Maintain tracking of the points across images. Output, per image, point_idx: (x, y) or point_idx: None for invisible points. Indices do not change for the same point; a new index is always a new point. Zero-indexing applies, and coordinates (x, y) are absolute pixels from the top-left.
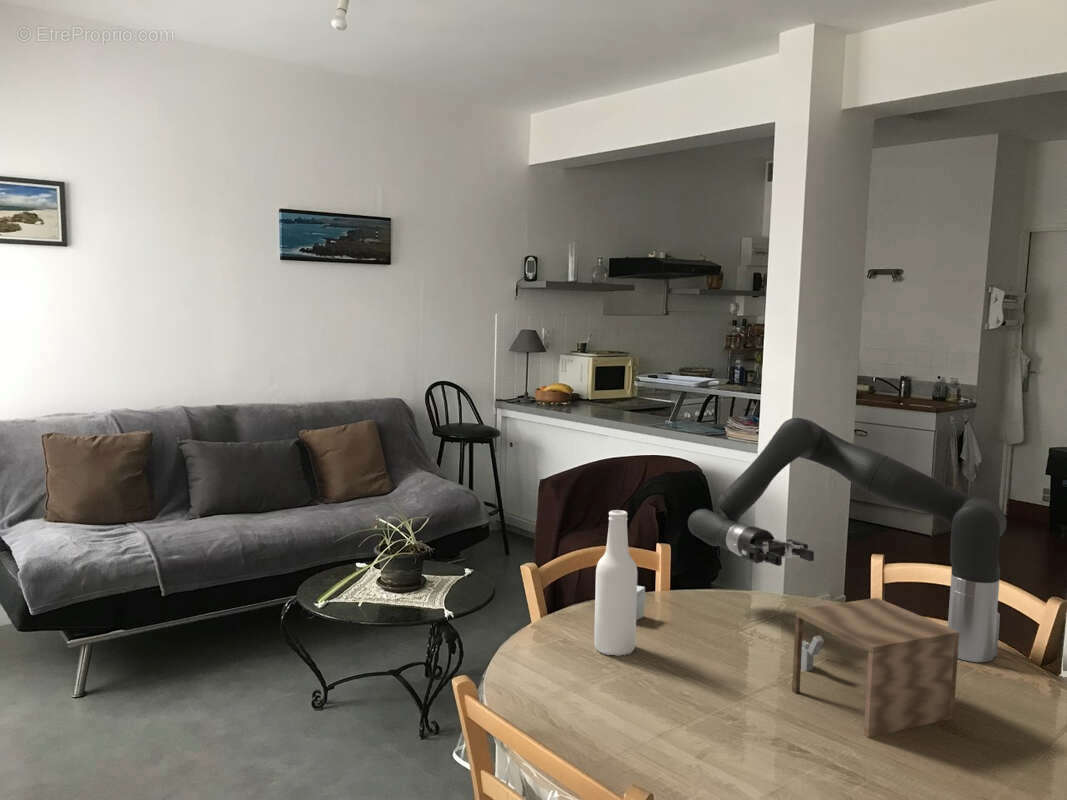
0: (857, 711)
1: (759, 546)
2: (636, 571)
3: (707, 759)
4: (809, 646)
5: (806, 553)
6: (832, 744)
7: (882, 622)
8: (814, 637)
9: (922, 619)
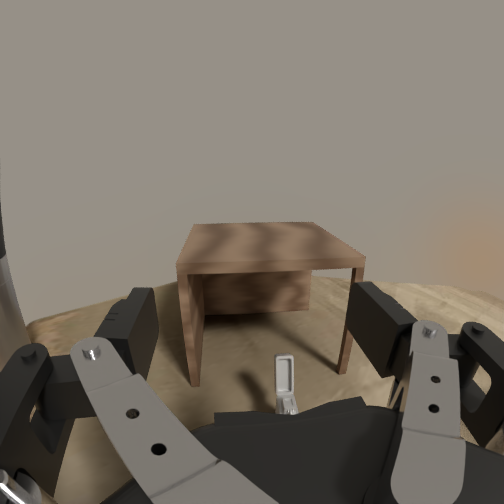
0: (287, 334)
1: (473, 449)
2: None
3: (439, 301)
4: (293, 381)
5: (147, 321)
6: (343, 305)
7: (257, 234)
8: (292, 356)
9: (197, 234)
